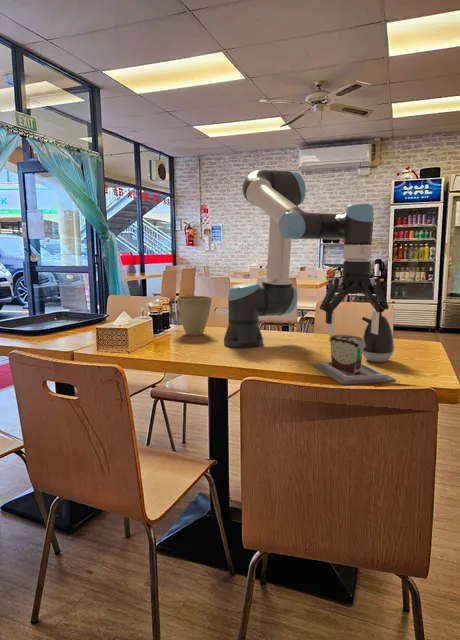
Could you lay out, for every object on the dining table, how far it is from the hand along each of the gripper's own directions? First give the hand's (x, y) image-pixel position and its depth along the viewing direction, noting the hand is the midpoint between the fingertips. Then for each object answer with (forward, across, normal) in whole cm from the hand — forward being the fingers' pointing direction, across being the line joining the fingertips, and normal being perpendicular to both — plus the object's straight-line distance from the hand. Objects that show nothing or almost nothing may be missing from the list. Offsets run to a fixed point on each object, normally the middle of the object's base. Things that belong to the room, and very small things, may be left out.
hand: (352, 334), depth 129 cm
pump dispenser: (+12, +15, +12) cm, 23 cm away
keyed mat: (+12, 0, -1) cm, 12 cm away
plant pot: (+13, -38, +71) cm, 82 cm away
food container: (+11, 0, +1) cm, 11 cm away
